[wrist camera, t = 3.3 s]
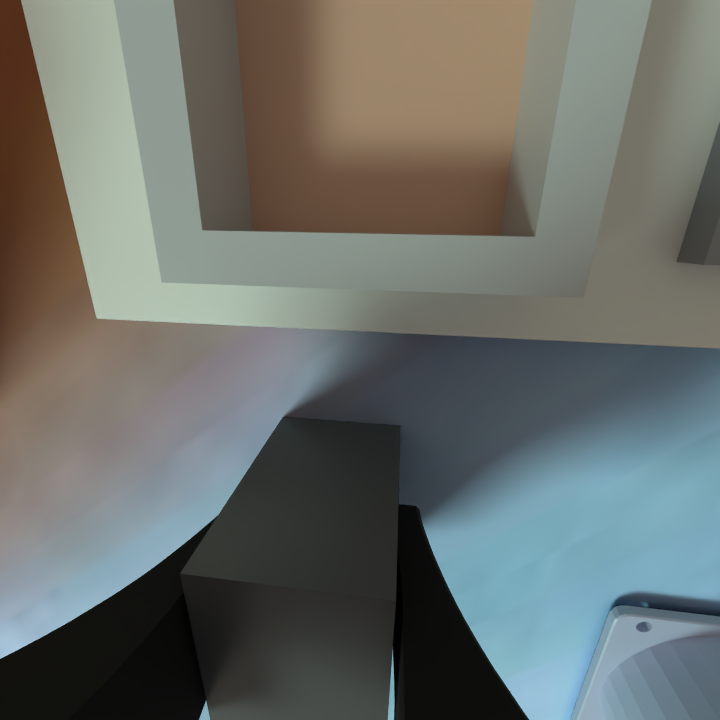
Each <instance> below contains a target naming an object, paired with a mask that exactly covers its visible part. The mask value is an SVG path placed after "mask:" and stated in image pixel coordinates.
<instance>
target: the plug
mask: <svg viewBox="0 0 720 720" xmlns="http://www.w3.org/2000/svg"><path fill="white" fill-rule="evenodd" d="M399 459H400V426H397V425H383V424H370V423H357V422H343V421H330V420H317V419H303V418H290V417H283V418H282V419H281V421H280V422H279V424H278V425H277V427H276V428H275V430H274V431H273V433H272V434H271V436H270V437H269V439H268V440H267V442H266V443H265V445H264V447H263V448H262V450H261V451H260V453H259V454H258V456H257V457H256V459H255V460H254V462H253V463H252V465H251V466H250V468H249V469H248V471H247V472H246V474H245V475H244V477H243V478H242V480H241V482H240V483H239V485H238V486H237V488H236V489H235V491H234V492H233V494H232V495H231V497H230V498H229V500H228V501H227V503H226V504H225V506H224V507H223V509H222V510H221V512H220V513H219V515H218V516H217V518H216V520H215V521H214V523H213V524H212V526H211V527H210V529H209V530H208V532H207V533H206V535H205V536H204V538H203V539H202V541H201V542H200V544H199V545H198V547H197V548H196V550H195V551H194V553H193V554H192V556H191V558H190V559H189V561H188V562H187V564H186V565H185V567H184V568H183V570H182V571H181V573H180V576H181V581H182V586H183V590H184V595H185V600H186V605H187V610H188V614H189V619H190V624H191V629H192V634H193V638H194V643H195V648H196V653H197V658H198V662H199V667H200V672H201V677H202V682H203V686H204V691H205V696H206V701H207V706H208V710H209V715H210V720H387V719H388V705H389V691H390V677H391V664H392V650H393V636H394V622H395V609H396V583H397V541H398V500H399Z"/></svg>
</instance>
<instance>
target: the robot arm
mask: <svg viewBox="0 0 720 720" xmlns="http://www.w3.org/2000/svg"><path fill="white" fill-rule="evenodd" d="M216 518H217V517H216ZM216 518H214V519H213V520H212V521H211V522H210V523H209V524H207V525H206V526H205V527H204V528H203V529H202V530H200V531H199V532H198V533H197V534H196V535H194V536H193V537H192V538H191V539H190V540H188V541H187V542H186V543H185V544H184V545H182V546H181V547H180V548H178V549H177V550H176V551H175V552H173V553H172V554H171V555H169V556H168V557H167V558H166V559H164V560H163V561H162V562H160V563H159V564H158V565H156V566H155V567H154V568H152V569H151V570H150V571H148V572H147V573H145V574H144V575H143V576H141V577H140V578H138V579H137V580H135V581H134V582H132V583H131V584H129V585H128V586H126V587H125V588H123V589H122V590H121V591H119V592H117V593H116V594H114V595H113V596H111V597H110V598H108V599H106V600H105V601H103V602H101V603H100V604H98V605H96V606H95V607H93V608H92V609H90V610H88V611H87V612H85V613H83V614H82V615H80V616H78V617H77V618H75V619H73V620H72V621H70V622H68V623H67V624H65V625H63V626H61V627H60V628H58V629H56V630H54V631H52V632H51V633H49V634H47V635H45V636H43V637H42V638H40V639H38V640H36V641H34V642H32V643H30V644H28V645H26V646H25V647H23V648H21V649H19V650H17V651H15V652H13V653H11V654H9V655H7V656H5V657H3V658H1V659H0V720H199V718H200V715H201V712H202V710H203V707H204V704H205V701H206V696H205V691H204V686H203V682H202V677H201V672H200V667H199V662H198V658H197V653H196V648H195V643H194V638H193V634H192V629H191V624H190V619H189V614H188V610H187V605H186V600H185V595H184V590H183V586H182V581H181V576H180V573H181V571H182V570H183V568H184V567H185V565H186V564H187V562H188V561H189V559H190V558H191V556H192V554H193V553H194V551H195V550H196V548H197V547H198V545H199V544H200V542H201V541H202V539H203V538H204V536H205V535H206V533H207V532H208V530H209V529H210V527H211V526H212V524H213V523H214V521H215V520H216ZM393 661H394V690H395V709H394V720H529V719H528V718H527V716H526V715H525V713H524V712H523V710H522V709H521V707H520V706H519V705H518V703H517V702H516V700H515V699H514V697H513V696H512V694H511V693H510V691H509V690H508V688H507V687H506V685H505V684H504V682H503V681H502V679H501V678H500V676H499V675H498V673H497V672H496V671H495V669H494V668H493V666H492V664H491V663H490V661H489V659H488V658H487V656H486V655H485V653H484V651H483V650H482V648H481V646H480V645H479V643H478V642H477V640H476V638H475V636H474V635H473V633H472V631H471V629H470V628H469V626H468V624H467V622H466V621H465V619H464V617H463V615H462V613H461V611H460V610H459V608H458V606H457V604H456V602H455V600H454V598H453V596H452V594H451V592H450V590H449V588H448V586H447V584H446V581H445V579H444V577H443V575H442V573H441V570H440V568H439V566H438V564H437V561H436V559H435V557H434V554H433V552H432V549H431V547H430V544H429V541H428V538H427V536H426V533H425V530H424V527H423V523H422V520H421V516H420V511H419V509H418V508H417V507H416V506H410V505H400V504H398V541H397V583H396V609H395V622H394V636H393ZM570 720H720V617H719V616H711V615H703V614H694V613H686V612H678V611H669V610H661V609H652V608H644V607H636V606H627V605H620V606H617V607H614V608H613V609H612V610H611V611H610V612H609V614H608V617H607V620H606V623H605V625H604V628H603V631H602V634H601V636H600V639H599V642H598V645H597V647H596V650H595V653H594V656H593V658H592V661H591V664H590V667H589V669H588V672H587V675H586V678H585V680H584V683H583V686H582V689H581V691H580V694H579V697H578V700H577V703H576V705H575V708H574V711H573V714H572V716H571V719H570Z"/></svg>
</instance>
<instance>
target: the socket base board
mask: <svg viewBox="0 0 720 720" xmlns="http://www.w3.org/2000/svg"><path fill="white" fill-rule="evenodd" d="M21 2H22V6H23V11H24V15H25V19H26V23H27V28H28V32H29V36H30V40H31V44H32V49H33V53H34V57H35V61H36V65H37V70H38V74H39V78H40V82H41V86H42V91H43V95H44V99H45V103H46V107H47V112H48V116H49V120H50V124H51V128H52V133H53V137H54V141H55V145H56V150H57V154H58V158H59V162H60V166H61V171H62V175H63V179H64V183H65V187H66V192H67V196H68V200H69V204H70V208H71V213H72V217H73V221H74V225H75V229H76V234H77V238H78V242H79V246H80V250H81V255H82V259H83V263H84V267H85V271H86V276H87V280H88V284H89V288H90V293H91V297H92V301H93V305H94V309H95V314H96V318H97V319H116V320H136V321H157V322H178V323H199V324H220V325H240V326H261V327H282V328H303V329H323V330H344V331H365V332H386V333H406V334H427V335H448V336H469V337H489V338H510V339H531V340H552V341H572V342H593V343H614V344H635V345H655V346H676V347H697V348H718V349H720V0H21Z"/></svg>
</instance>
